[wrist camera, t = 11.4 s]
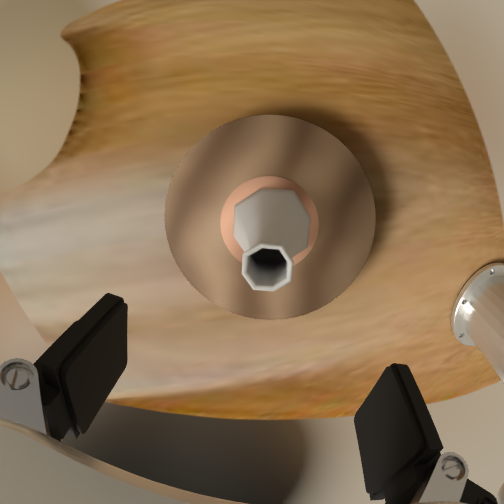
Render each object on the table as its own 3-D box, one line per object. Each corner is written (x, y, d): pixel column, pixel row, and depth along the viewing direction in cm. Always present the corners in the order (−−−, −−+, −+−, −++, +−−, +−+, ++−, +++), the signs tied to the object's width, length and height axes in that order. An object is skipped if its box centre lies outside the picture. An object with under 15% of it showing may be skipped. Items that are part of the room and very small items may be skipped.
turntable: (394, 152, 26) (401, 153, 24) (332, 327, 32) (334, 337, 31) (193, 98, 26) (187, 95, 24) (159, 284, 32) (153, 291, 31)
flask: (301, 177, 26) (314, 194, 16) (318, 253, 28) (336, 307, 18) (222, 197, 27) (191, 225, 17) (244, 270, 29) (227, 328, 20)
